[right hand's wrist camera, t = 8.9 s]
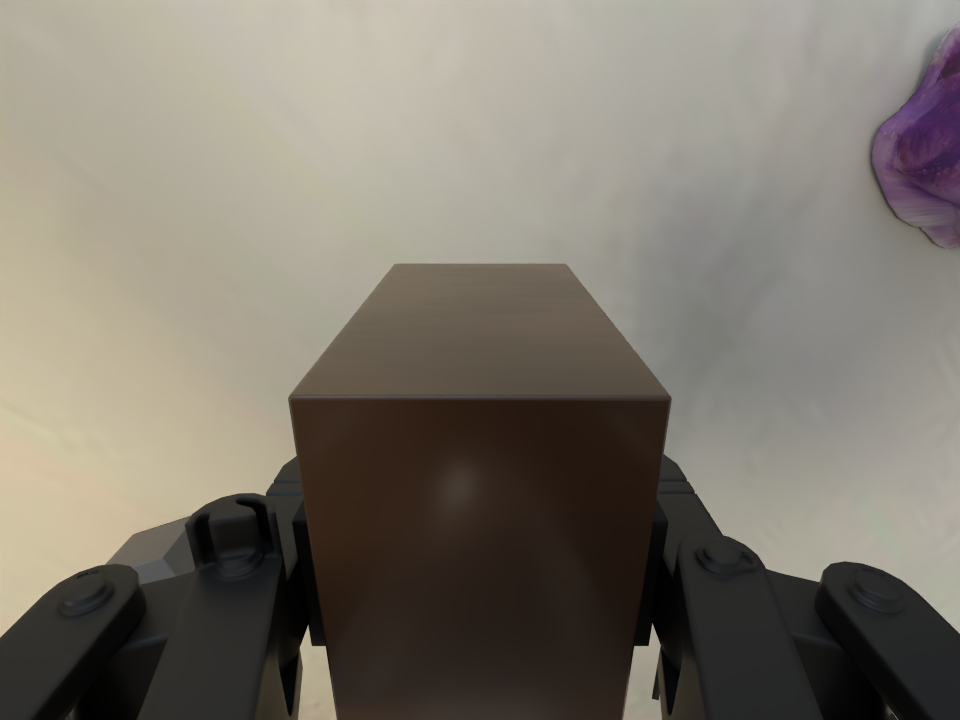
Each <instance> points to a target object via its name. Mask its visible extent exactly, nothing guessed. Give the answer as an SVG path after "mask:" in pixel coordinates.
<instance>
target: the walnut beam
mask: <svg viewBox="0 0 960 720" xmlns="http://www.w3.org/2000/svg"><path fill="white" fill-rule="evenodd" d="M671 400H672V399H671V396H670V395H669V393H668V392H667V391H666V390H665V388H664V387H663V386H662V385H661V383H660V382H659V381H658V380H657V378H656V377H655V376H654V374H653V373H652V372H651V371H650V369H649V368H648V367H647V366H646V364H645V363H644V362H643V361H642V359H641V358H640V357H639V356H638V354H637V353H636V352H635V350H634V349H633V348H632V347H631V345H630V344H629V343H628V342H627V340H626V339H625V338H624V337H623V335H622V334H621V333H620V331H619V330H618V329H617V328H616V326H615V325H614V324H613V323H612V321H611V320H610V319H609V318H608V316H607V315H606V314H605V313H604V311H603V310H602V309H601V307H600V306H599V305H598V304H597V302H596V301H595V300H594V299H593V297H592V296H591V295H590V294H589V292H588V291H587V290H586V288H585V287H584V286H583V285H582V283H581V282H580V281H579V280H578V278H577V277H576V276H575V275H574V273H573V272H572V271H571V270H570V268H569V267H568V266H567V264H394V265H393V267H392V268H391V269H390V270H389V272H388V273H387V274H386V275H385V277H384V278H383V279H382V280H381V282H380V283H379V284H378V285H377V287H376V288H375V289H374V290H373V292H372V293H371V294H370V295H369V297H368V298H367V299H366V300H365V302H364V303H363V304H362V305H361V307H360V308H359V309H358V310H357V312H356V313H355V314H354V315H353V317H352V318H351V319H350V320H349V322H348V323H347V324H346V325H345V327H344V328H343V329H342V330H341V332H340V333H339V334H338V335H337V337H336V338H335V339H334V340H333V342H332V343H331V344H330V345H329V347H328V348H327V349H326V351H325V352H324V353H323V354H322V356H321V357H320V358H319V359H318V361H317V362H316V363H315V364H314V366H313V367H312V368H311V369H310V371H309V372H308V373H307V374H306V376H305V377H304V378H303V379H302V381H301V382H300V383H299V384H298V386H297V387H296V388H295V389H294V391H293V392H292V393H291V394H290V396H289V398H288V401H289V407H290V414H291V420H292V427H293V433H294V440H295V447H296V453H297V460H298V466H299V473H300V480H301V486H302V493H303V499H304V506H305V512H306V519H307V526H308V532H309V539H310V545H311V552H312V558H313V565H314V572H315V578H316V585H317V591H318V598H319V604H320V611H321V618H322V624H323V631H324V637H325V644H326V651H327V657H328V664H329V670H330V677H331V683H332V690H333V697H334V703H335V710H336V716H337V720H623V716H624V709H625V703H626V696H627V689H628V683H629V676H630V670H631V663H632V657H633V650H634V643H635V637H636V630H637V624H638V617H639V610H640V604H641V597H642V591H643V584H644V578H645V571H646V564H647V558H648V551H649V545H650V538H651V531H652V525H653V518H654V512H655V505H656V499H657V492H658V485H659V479H660V472H661V466H662V459H663V452H664V446H665V439H666V433H667V426H668V419H669V413H670V406H671Z"/></svg>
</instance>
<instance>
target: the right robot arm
mask: <svg viewBox="0 0 960 720" xmlns="http://www.w3.org/2000/svg"><path fill="white" fill-rule="evenodd" d="M185 529H186V533H187V537H188V541H189V545H190V549H191V552H192V556H193V560H194V564H195V569H194V571H193V572H190V573H187V574H183V575H180V576H176V577H171V578H167V579H163V580H158V581H154V582H150V583H145V584H141V582H140V578H139V575H138V573H137V572H136V571H135V570H134V569H133V568H132V567H131V566H127V565H122V564H109V565H101V566H97V567H94V568H90V569H87V570H84V571H81V572H79V573H77V574H75V575H73V576H71V577H69V578H67V579H65V580H64V581H62V582H60V583H58V584H57V585H56V586H55V587H53V588H52V589H51V590H50V591H48V592H47V593H46V594H44V595H43V596H42V597H41V598H40V599H39V600H38V601H37V602H36V603H35V604H34V605H33V606H32V607H31V608H30V609H29V610H28V611H27V612H26V613H25V614H24V615H23V616H22V617H21V618H20V619H19V620H18V621H17V622H16V623H15V624H14V625H13V626H12V627H11V628H10V629H9V630H8V631H7V632H6V633H5V634H4V635H3V636H2V637H1V638H0V720H298V712H299V702H300V691H301V681H302V670H303V667H302V660H301V653H300V645H301V643H302V640H303V637H304V634H305V632H306V629H307V626H308V625H309V631H310V637H311V643H312V646H326V644H325V637H324V631H323V624H322V618H321V611H320V604H319V598H318V591H317V585H316V578H315V572H314V565H313V558H312V552H311V545H310V539H309V532H308V526H307V519H306V512H305V506H304V499H303V493H302V486H301V480H300V473H299V466H298V460H297V456H296V457H295V458H293V459H292V460H291V461H289V462H288V463H287V464H285V465H284V466H283V467H282V469H281V470H280V472H279V474H278V475H277V477H276V478H275V480H274V483H272V484H271V486H270V488H269V489H268V491H267V492H266V496H263V495H259V494H255V493H243V494H235V495H231V496H226V497H222V498H220V499H217V500H215V501H213V502H211V503H208V504H206V505H205V506H203V507H202V508H200V509H199V510H198V511H196V512H195V513H193V514H192V516H191V517H190V518H189V519H188V521H187V522H186V523H185ZM652 623H653V625H654V628H655V631H656V634H657V636H658V639H659V642H660V644H661V648H660V653H659V659H658V665H657V670H656V676H655V682H654V688H653V695H652V699H655V700H659V695H660V701H661V711H662V720H897V719H898V720H960V634H959V633H958V632H957V631H956V630H955V629H954V628H953V627H952V626H951V625H950V624H949V623H948V622H947V621H946V620H945V619H944V618H943V617H942V616H941V615H940V614H939V613H938V612H937V611H936V610H935V609H934V608H933V607H932V606H931V605H930V604H929V603H928V602H927V601H926V600H925V599H924V598H922V597H921V596H920V595H919V594H918V593H917V592H916V591H915V590H913V589H912V588H911V587H909V586H908V585H907V584H906V583H904V582H903V581H902V580H900V579H898V578H896V577H894V576H892V575H890V574H889V573H887V572H885V571H883V570H880V569H877V568H874V567H871V566H868V565H865V564H861V563H853V562H839V563H833V564H830V565H829V566H828V567H827V568H826V569H825V570H824V571H823V574H822V577H821V580H820V582H816V581H811V580H807V579H803V578H798V577H794V576H789V575H785V574H781V573H778V572H774V571H771V570H768V569H766V568H765V566H764V564H763V563H762V561H761V560H760V558H759V557H758V555H757V554H756V553H754V552H753V551H752V550H751V549H749V548H748V547H747V546H746V545H744V544H742V543H740V542H738V541H736V540H734V539H732V538H730V537H727V536H723V534H722V533H721V531H720V530H719V528H718V527H717V525H716V524H715V522H714V520H713V519H712V517H711V516H710V514H709V513H708V511H707V510H706V508H705V506H704V505H703V503H702V502H701V500H700V499H699V497H698V496H697V494H695V491H694V489H693V488H692V486H691V485H690V483H689V482H687V479H686V477H685V475H684V474H683V472H682V471H681V469H680V468H679V466H678V465H677V464H676V463H675V462H674V461H672V460H671V459H669V458H668V457H667V456H665V455H664V454H663V459H662V466H661V472H660V479H659V485H658V492H657V499H656V505H655V512H654V518H653V525H652V531H651V538H650V545H649V551H648V558H647V564H646V571H645V578H644V584H643V591H642V597H641V604H640V610H639V617H638V624H637V630H636V637H635V643H634V646H649V640H650V633H651V627H652ZM892 712H893V713H894V714H893V713H892ZM894 715H895V716H896V717H897V718H896V717H895V716H894ZM67 716H68V717H67Z"/></svg>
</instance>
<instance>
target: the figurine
mask: <svg viewBox="0 0 960 720" xmlns="http://www.w3.org/2000/svg"><path fill="white" fill-rule="evenodd" d="M871 159H872V165H873V167H874V170H875V173H876V175H877V178H878V180H879V183H880V185H881V188H882V190H883V192H884V195H885V197H886V200H887V202H888V204H889V205H890V206H891V208H892V209H893V211H894V212H895V213H896V215H897V217H898V218H899V219H901V220H903V221H905V222H906V223H908V224H910V225H912V226H914V227H916V228H917V227H921V229H922V230H923V231H925V232H926V233H927V234H928V236H929V237H930V238H931V239H932V240H933V242H935V243H936V244H937V245H938V246H940V247H943V248H947V249H950V248H956V247H960V22H958V23H957V24H956V25H954V26H953V27H952V28H951V29H950V30H949V31H948V32H947V33H946V35H945V36H944V37H943V38H942V39H941V41H940V43H939V44H938V46H937V48H936V50H935V52H934V54H933V56H932V58H931V60H930V63H929V66H928V69H927V71H926V74H925V76H924V78H923V81H922V83H921V85H920V86H919V88H918V89H917V91H916V92H915V93H914V95H913V96H912V97H911V99H910V100H909V101H908V102H907V103H906V104H905V105H904V106H902V108H901V110H900V111H899V112H897V113H896V114H895V115H894V116H892V117H891V118H889V119H888V120H887V121H886V122H885V123H884V124H883V125H882V126H881V128H880V129H879V131H878V132H877V134H876V137H875V140H874V146H873V151H872V154H871Z"/></svg>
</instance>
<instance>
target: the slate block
mask: <svg viewBox="0 0 960 720" xmlns="http://www.w3.org/2000/svg"><path fill="white" fill-rule="evenodd" d="M190 517H191V516H190ZM190 517H187V518H184V519H181V520H178V521H174V522H171V523H168V524H165V525H162V526H159V527H156V528H153V529H150V530H147V531H143V532H140V533H137V534H134V535H132V536H131V537H130V538H129V540H128V541H127V542H126V543H125V544H124V545H123V546H122V547H121V548H120V549H119V550H118V551H117V552H116V554H115V555H114V556H113V557H112V558H111V559H110V560H109V561H108V562H107V563H106V564H105V565H109V564H122V565H127V566H131V567H132V568H133V569H134V570H135V571H136V572H137V573H138V575H139V578H140V582H141V584H145V583H150V582H154V581H158V580H163V579H167V578H171V577H176V576H180V575H183V574H187V573H190V572H193V571H194V569H195V564H194V560H193V556H192V552H191V549H190V545H189V541H188V537H187V533H186V529H185V523H186V522H187V521H188V519H189V518H190Z"/></svg>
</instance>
